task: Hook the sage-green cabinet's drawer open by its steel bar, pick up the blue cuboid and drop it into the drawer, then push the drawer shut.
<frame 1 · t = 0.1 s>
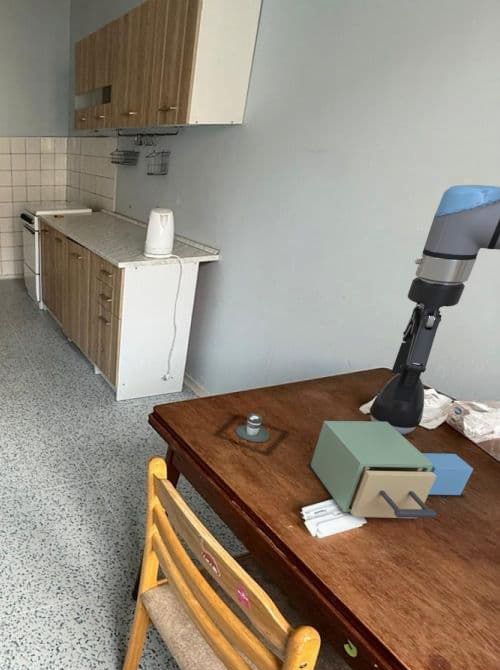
hand: (400, 386, 94), 19 cm above the table, tool pointing down, fingers open, 13 cm apart
drawer: (382, 484, 88), point 6 cm above the table, slide at 1.0 cm
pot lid: (251, 434, 115), on the table
blue cuboid: (433, 486, 96), on the table
cabinet: (357, 488, 96), on the table
black bell: (389, 429, 115), on the table
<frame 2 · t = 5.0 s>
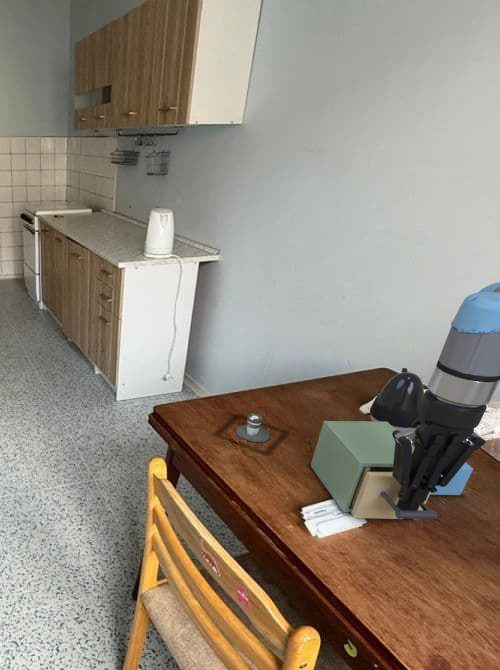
hand: (403, 514, 82), 5 cm above the table, tool pointing down, fingers closed
drawer: (383, 485, 88), point 6 cm above the table, slide at 1.3 cm, touching gripper
everything else where it was.
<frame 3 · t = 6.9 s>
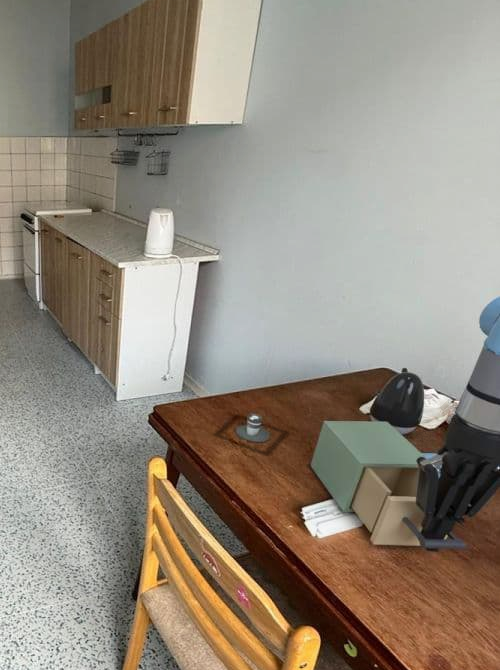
hand: (427, 544, 77), 4 cm above the table, tool pointing down, fingers closed
drawer: (404, 509, 82), point 6 cm above the table, slide at 7.8 cm, touching gripper
everything else where it was.
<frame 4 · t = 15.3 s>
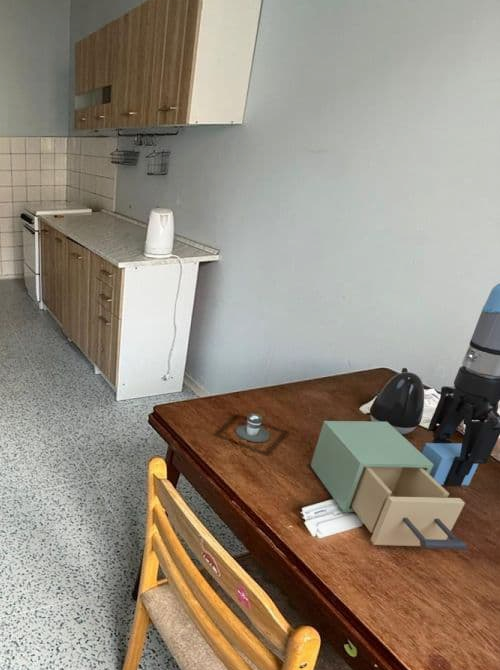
hand: (442, 476, 94), 3 cm above the table, tool pointing down, fingers closed on blue cuboid, 5 cm apart
drawer: (404, 509, 82), point 6 cm above the table, slide at 7.9 cm
blue cuboid: (441, 477, 94), point 3 cm above the table, touching gripper
everything else where it was.
when the fingers open (10 cm above the table, at t = 20.7 s): blue cuboid drops 8 cm, resting on drawer.
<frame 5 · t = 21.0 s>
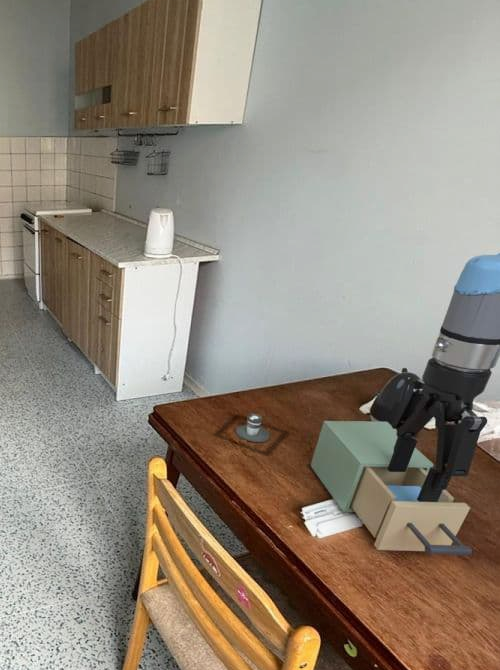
hand: (410, 485, 81), 10 cm above the table, tool pointing down, fingers open, 8 cm apart
drawer: (409, 514, 81), point 6 cm above the table, slide at 9.1 cm, touching gripper, blue cuboid
blue cuboid: (394, 522, 85), point 2 cm above the table, touching drawer
everything else where it was.
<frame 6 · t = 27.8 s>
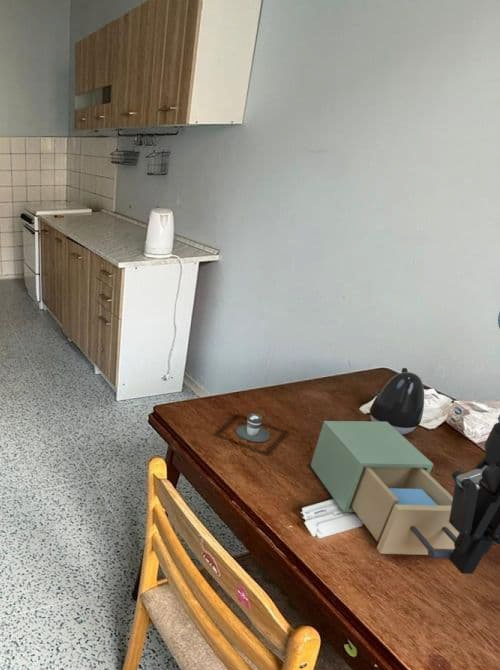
hand: (460, 566, 70), 7 cm above the table, tool pointing down, fingers closed
drawer: (411, 517, 80), point 6 cm above the table, slide at 9.9 cm, touching gripper, blue cuboid
everything else where it was.
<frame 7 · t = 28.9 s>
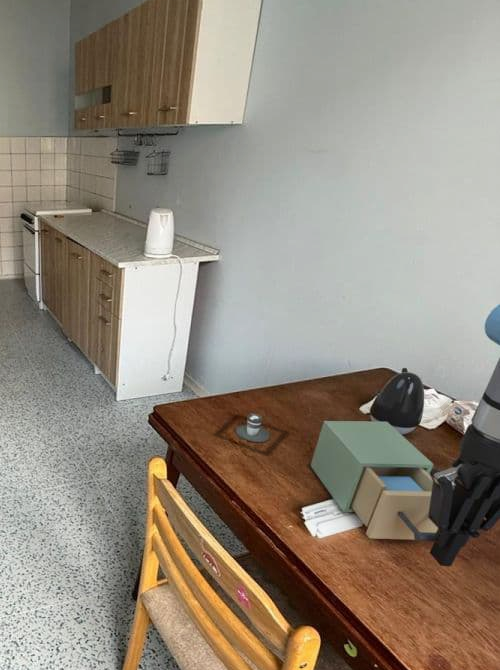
hand: (440, 559, 74), 4 cm above the table, tool pointing down, fingers closed
drawer: (399, 503, 83), point 6 cm above the table, slide at 6.4 cm, touching gripper, blue cuboid
blue cuboid: (386, 512, 87), point 2 cm above the table, touching drawer
everything else where it was.
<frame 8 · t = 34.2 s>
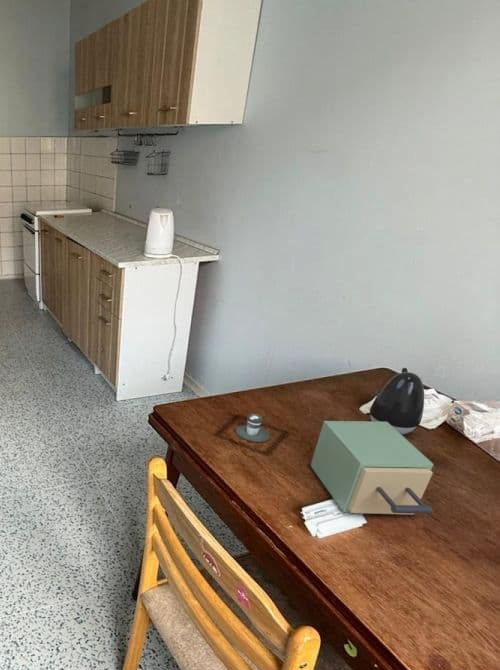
drawer: (379, 480, 89), point 6 cm above the table, slide at 0.0 cm, touching cabinet, blue cuboid
blue cuboid: (367, 490, 93), point 2 cm above the table, touching drawer
everything else where it was.
at the end: drawer pulled out 10.0 cm at the most during the clip, back to where it started at the end; blue cuboid inside the target area in the cabinet (3.3 cm from its centre), point 2.0 cm above the cabinet's base; drawer slide at 0.0 cm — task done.
